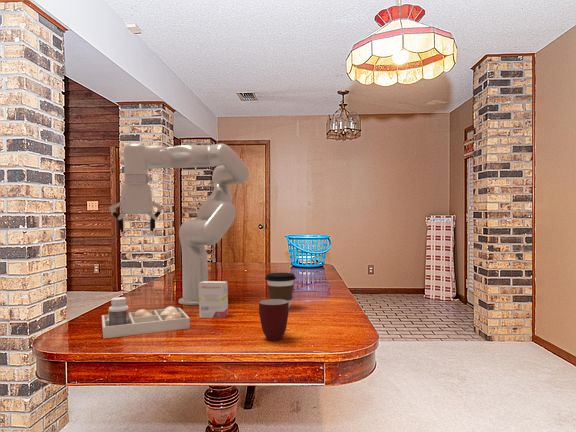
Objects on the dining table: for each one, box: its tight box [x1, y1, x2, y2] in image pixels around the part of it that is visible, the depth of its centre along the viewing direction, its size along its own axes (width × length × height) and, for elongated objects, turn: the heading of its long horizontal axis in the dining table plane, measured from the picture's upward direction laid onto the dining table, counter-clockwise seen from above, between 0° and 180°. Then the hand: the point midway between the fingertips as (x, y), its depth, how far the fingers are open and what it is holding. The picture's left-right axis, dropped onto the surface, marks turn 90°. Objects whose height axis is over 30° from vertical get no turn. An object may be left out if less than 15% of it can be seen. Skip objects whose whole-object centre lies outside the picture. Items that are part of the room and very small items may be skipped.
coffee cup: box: [264, 272, 297, 308], centre depth 158 cm, size 11×11×12 cm
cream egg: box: [160, 305, 177, 315], centre depth 138 cm, size 6×4×4 cm
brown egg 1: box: [134, 308, 153, 317], centre depth 135 cm, size 6×4×4 cm
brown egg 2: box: [164, 311, 182, 320], centre depth 131 cm, size 6×4×4 cm
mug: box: [258, 298, 290, 342], centre depth 121 cm, size 11×8×10 cm
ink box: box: [198, 280, 229, 319], centre depth 145 cm, size 9×5×12 cm, turn 82°
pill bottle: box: [108, 296, 130, 326], centre depth 126 cm, size 5×5×10 cm
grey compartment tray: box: [101, 307, 191, 340], centre depth 132 cm, size 23×16×4 cm
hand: (137, 231), depth 150 cm, fingers open, 9 cm apart
